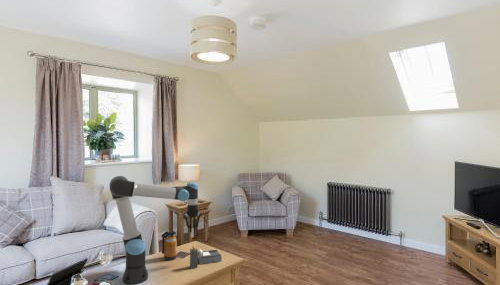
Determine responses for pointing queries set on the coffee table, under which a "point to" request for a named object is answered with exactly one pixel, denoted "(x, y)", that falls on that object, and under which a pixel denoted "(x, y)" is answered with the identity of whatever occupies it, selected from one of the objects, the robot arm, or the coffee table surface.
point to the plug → (193, 258)
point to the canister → (169, 245)
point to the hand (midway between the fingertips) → (192, 236)
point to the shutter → (203, 253)
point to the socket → (210, 257)
